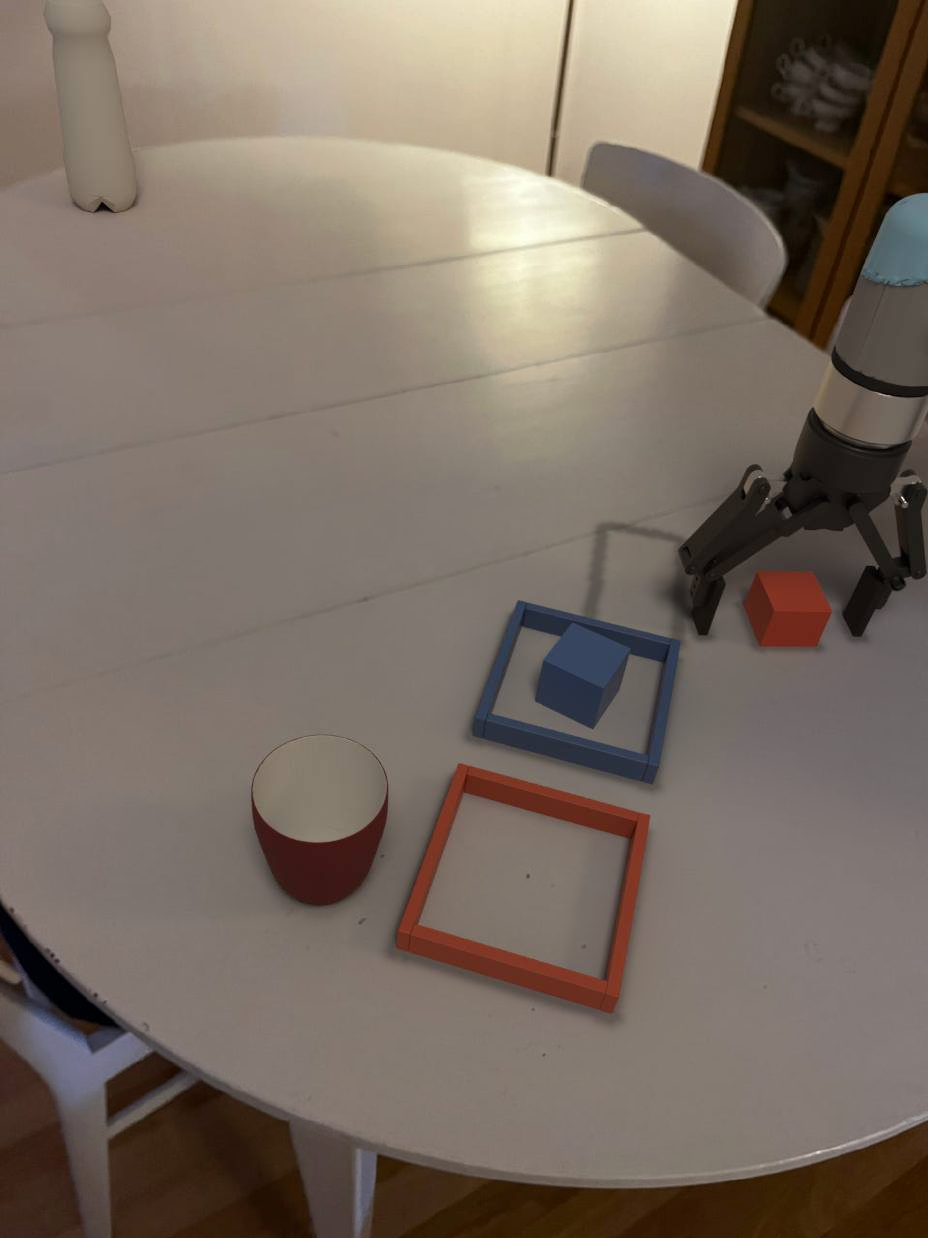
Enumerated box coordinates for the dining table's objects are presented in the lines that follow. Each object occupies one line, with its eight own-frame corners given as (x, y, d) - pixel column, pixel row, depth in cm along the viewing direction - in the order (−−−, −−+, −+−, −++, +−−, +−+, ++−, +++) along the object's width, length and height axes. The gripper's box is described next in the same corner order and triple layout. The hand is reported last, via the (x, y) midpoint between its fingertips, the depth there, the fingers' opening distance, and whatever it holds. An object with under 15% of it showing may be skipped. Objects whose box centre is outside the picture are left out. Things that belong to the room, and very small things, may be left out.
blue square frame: (672, 666, 84) (681, 640, 82) (650, 792, 74) (659, 766, 72) (513, 625, 86) (517, 599, 84) (471, 743, 76) (474, 717, 74)
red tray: (641, 840, 71) (650, 815, 69) (609, 1021, 61) (619, 997, 59) (455, 788, 73) (458, 762, 71) (395, 955, 63) (397, 930, 61)
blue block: (618, 693, 81) (631, 648, 77) (592, 733, 77) (603, 688, 74) (562, 666, 82) (572, 621, 79) (534, 704, 79) (543, 659, 76)
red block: (794, 614, 90) (813, 571, 87) (813, 654, 87) (832, 611, 83) (740, 613, 90) (756, 570, 86) (756, 654, 86) (774, 610, 83)
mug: (307, 786, 72) (304, 691, 65) (414, 822, 71) (422, 728, 64) (236, 911, 65) (225, 817, 58) (354, 953, 63) (357, 863, 56)
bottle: (74, 189, 143) (30, -64, 123) (141, 190, 145) (109, -59, 124) (67, 215, 137) (21, -47, 116) (138, 216, 138) (104, -42, 118)
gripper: (999, 400, 78) (893, 603, 92) (682, 386, 75) (624, 599, 89) (1047, 457, 72) (926, 663, 87) (708, 445, 69) (641, 661, 84)
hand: (773, 631), depth 88 cm, fingers open, 13 cm apart
